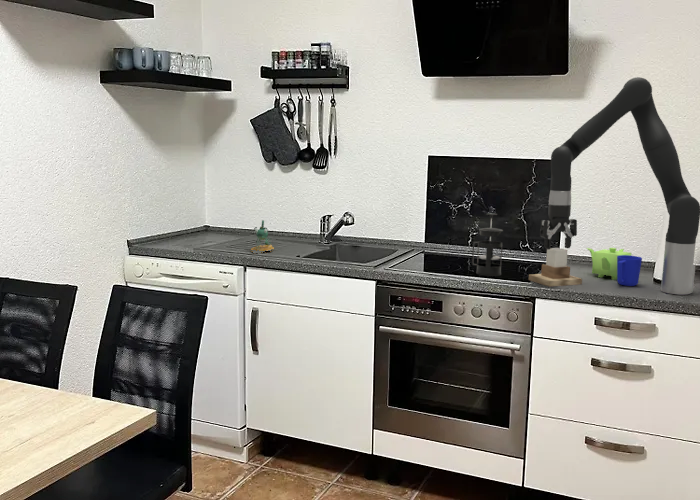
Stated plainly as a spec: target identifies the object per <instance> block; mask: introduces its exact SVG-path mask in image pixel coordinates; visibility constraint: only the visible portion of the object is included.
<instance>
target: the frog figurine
mask: <svg viewBox="0 0 700 500" xmlns="http://www.w3.org/2000/svg"><path fill="white" fill-rule="evenodd" d="M264 225H265V220H261V226H260V227H259V229H258V227H257V226H256V227H253V230H254V232H255V233H256V237H257V240H256V241H255V243H257V246H254V247H252V248H250V251H251V250H256V251H257V250H259V251H265V250H266V251H268V250H271V249H273V250H274V249H275V247H274V246H273V245H272V242H271V238H269V237H268V235H269V233H268V230H269V229H268V228H267V227H264ZM262 241H264V244H263V245H261V244H262V243H261V242H262ZM258 243H259V244H258Z"/></svg>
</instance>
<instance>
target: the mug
mask: <svg viewBox="0 0 700 500" xmlns="http://www.w3.org/2000/svg"><path fill="white" fill-rule="evenodd" d="M642 261H643V258H642V257H641V256H636V255H631V256H629V255H620V256H617V280H616V281H617V283H618V284H619V285H622V286H624V287H634V286H637V285H638V283H639V278H640V275H641V268H642Z"/></svg>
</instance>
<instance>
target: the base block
mask: <svg viewBox="0 0 700 500" xmlns="http://www.w3.org/2000/svg"><path fill="white" fill-rule="evenodd" d="M540 274H541V275H542V276H545V277H548V278H551V279H562V278H570V275H571V267H570V266H568V265H566V267H552V266H548V265H546V263H545V264H544V263H543V264H541V272H540Z"/></svg>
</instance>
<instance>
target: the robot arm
mask: <svg viewBox="0 0 700 500" xmlns="http://www.w3.org/2000/svg"><path fill="white" fill-rule="evenodd" d="M652 93H653V87H652V84H651V83H650V81H649V80H647V79H646V78H644V77H638V76H637V77H633V78H631V79H629V80H627V81H626V82H625V83H624V85H623V87H622V88H621V90H620V91H619V92H618V93H617V95H616V96H615V97H614V98H613V99H612V100H611V101H610V102H609V103H608V104H606V106H605V107H603V108H602V109H601V110H600V111H598V113H596V114H595V115H594V116H592V117H591V118H590V119H588V120H587V121H586V122H585V123H583V125H581V126H580V127H579V128H577V130H575V132H574V133H572V135H571V136H570V137H569V138H568V139H567V140H565V142H564V143H561V145H560V146H558V147H556V148H555V149H553V151H552V152H551V155H550V173H551V175H550V176H551V177H550V188H549V189H550V191H549V195H548V214H547V215H548V220H545V219H541V220H540V228H539V237H541V238H543V239H544V243H543V244H544V245H543V247H544V249H545V250H547V249H550V248H552V247H551V244H552V243H551V241H552V236H553V235H555V234H556V233H559V232H561V233H563V235H564V236H565V238H564V248H565V249H570V248H571V246H572V239H573V237H576V236H577V235H578V234H577V233H578V220H577V219H575V218H570V217H571V212H572V211H571V210H572V177H571V171H572V162H574V160H575V159H577V158H578V157H579V156H580V155H581V154H582V153H583V152H584V151H586V150H587V149H589V147H591V146H592V145H593V144H594V143H596V142H597V141H598V140H599V139H600V138H601V137H602V136H603V135H605V133H607V132H608V130H610V128H612V126H614V124H616V123H617V122H618V121H619V120H620V119H621V118H623V117H624V116H625V115H626V114H628V113H629V112H630V113H631V114H632V117H633V119H634V121H635V123H636V128H637V131H638V136H639V141H640V143H641V145H642V149H643V152H644V154H645V156H646V159H647V161H648V164H649V166H650V168H651V170H652V173H653V174H654V176H655V178H656V180H657V182H658V184H659V186H660V189H661V191H662V196H663V199H664V201H665V207H666V210H667V213H668V215H669V216H668V217H669V218H668V227H667V232H666V233H665V241H664V253H663V254H664V255H663V264H662V274H661V285H660V291H661V292H663V293H666V294H671V295H672V294H673V295H691V294H692V293H693V292H694V282H695V274H696V265H695V264H694V262H695V261H694V260H695V250H696V243H697V242H696V241H697V237H698V233H699V228H700V227H699V226H700V202H699V201H698V200H697V198H696V197H694V196H692V194H691V193H690V190H689V189H688V186H687V185H686V183H685V181H684V178H683V174H682V170H681V169H682V168H681V164H680V160H679V159H680V158H679V155H678V152H677V151H678V150H677V149H676V146H675V144H674V141H673V139H672V136H671V134H670V132H669V130H668V128H667V126H666V125H665V123H664V122H663V120H662V119H661V117H660V115H659V113H658V111H657V108H656V105H655V101H654V97H653V94H652Z"/></svg>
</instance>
